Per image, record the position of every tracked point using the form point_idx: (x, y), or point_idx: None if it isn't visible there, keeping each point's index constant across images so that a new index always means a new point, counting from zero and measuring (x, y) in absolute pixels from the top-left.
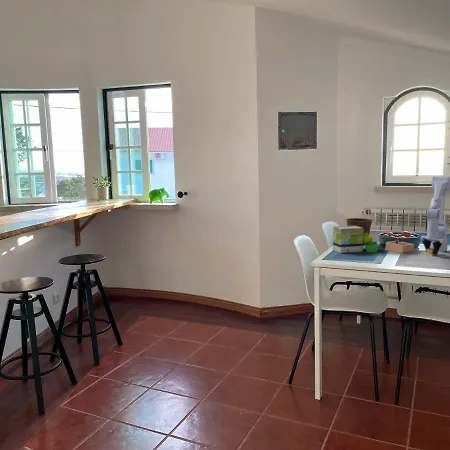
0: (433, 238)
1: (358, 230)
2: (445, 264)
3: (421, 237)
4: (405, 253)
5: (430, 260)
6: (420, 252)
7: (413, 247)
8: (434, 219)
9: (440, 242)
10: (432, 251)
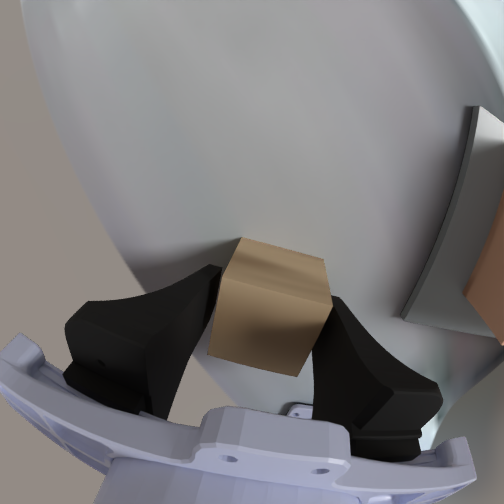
0: (112, 447)
1: None
2: (35, 70)
3: (464, 458)
4: (499, 165)
5: (157, 66)
6: (408, 320)
7: (488, 314)
8: None
9: (36, 349)
10: (224, 273)
